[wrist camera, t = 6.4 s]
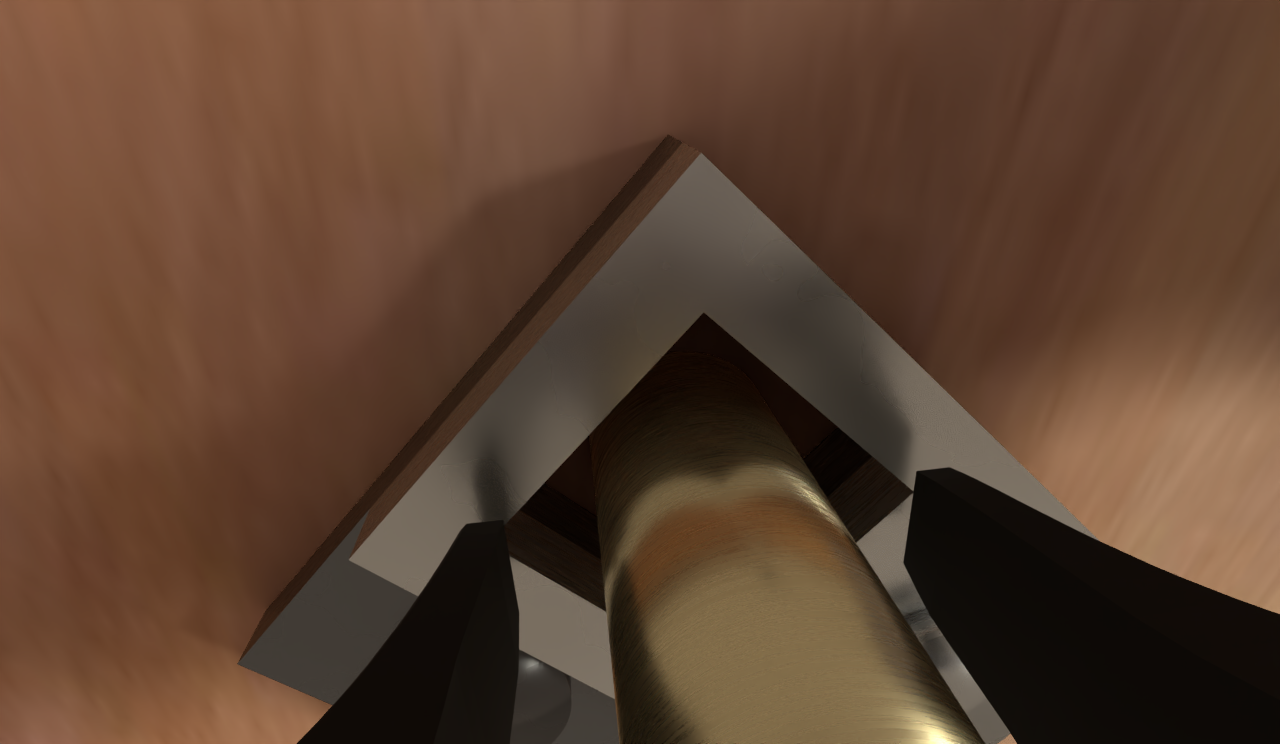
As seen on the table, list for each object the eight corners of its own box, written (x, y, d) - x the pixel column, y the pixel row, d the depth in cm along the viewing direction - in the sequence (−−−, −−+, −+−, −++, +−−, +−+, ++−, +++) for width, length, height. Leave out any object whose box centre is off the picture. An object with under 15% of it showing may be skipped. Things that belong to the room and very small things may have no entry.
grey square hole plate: (387, 467, 14) (334, 592, 11) (668, 134, 12) (713, 159, 9) (808, 716, 19) (864, 857, 16) (1059, 512, 17) (1187, 623, 14)
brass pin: (801, 420, 15) (1094, 832, 7) (681, 534, 16) (816, 1016, 8) (674, 314, 14) (857, 676, 5) (551, 446, 15) (551, 924, 6)
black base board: (668, 134, 12) (691, 147, 10) (949, 405, 15) (1011, 458, 13) (265, 611, 15) (220, 696, 13) (565, 752, 19) (567, 838, 17)
